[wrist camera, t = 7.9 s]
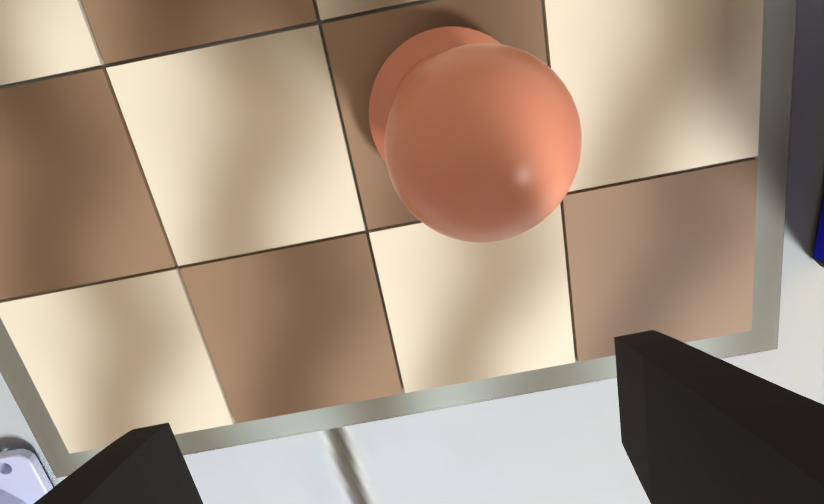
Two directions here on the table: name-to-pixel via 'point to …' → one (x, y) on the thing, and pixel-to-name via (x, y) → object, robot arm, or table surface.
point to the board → (362, 213)
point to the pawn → (474, 133)
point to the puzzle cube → (820, 239)
